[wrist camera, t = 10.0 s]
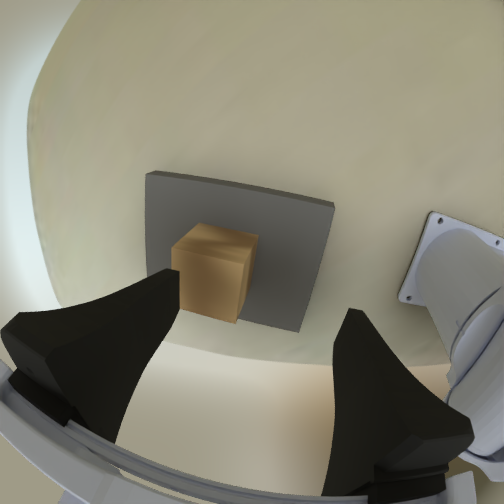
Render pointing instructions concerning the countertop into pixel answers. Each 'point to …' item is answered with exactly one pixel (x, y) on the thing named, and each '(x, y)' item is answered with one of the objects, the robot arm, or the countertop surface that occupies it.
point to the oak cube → (214, 270)
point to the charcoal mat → (251, 221)
